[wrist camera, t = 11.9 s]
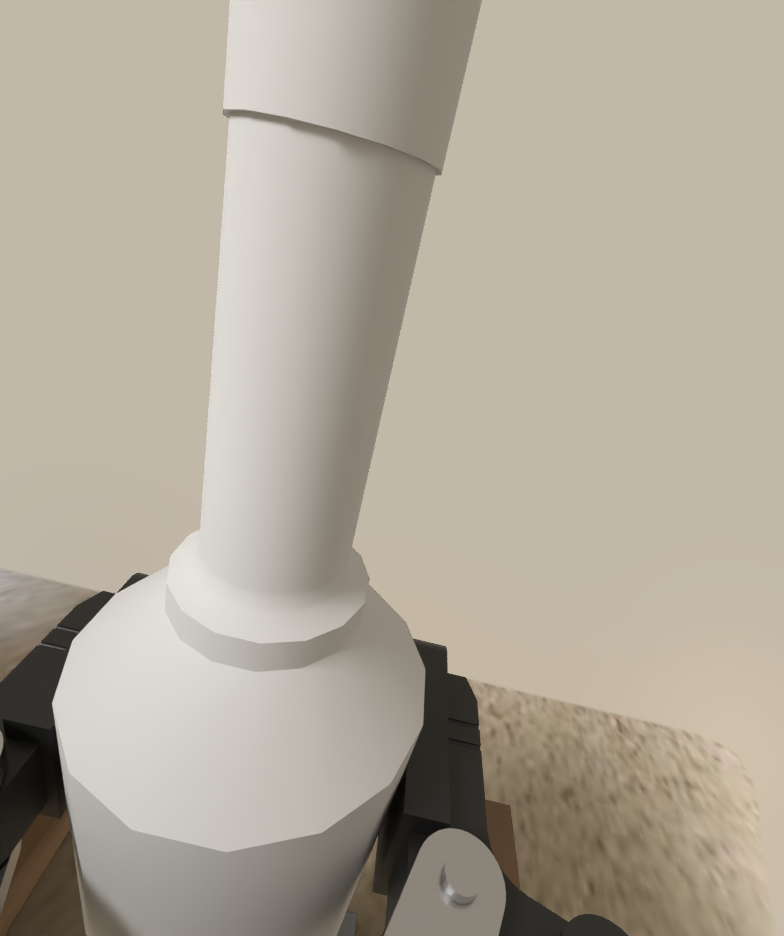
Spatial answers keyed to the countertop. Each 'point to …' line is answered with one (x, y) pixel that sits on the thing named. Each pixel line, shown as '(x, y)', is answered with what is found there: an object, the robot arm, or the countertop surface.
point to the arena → (52, 831)
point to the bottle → (275, 508)
